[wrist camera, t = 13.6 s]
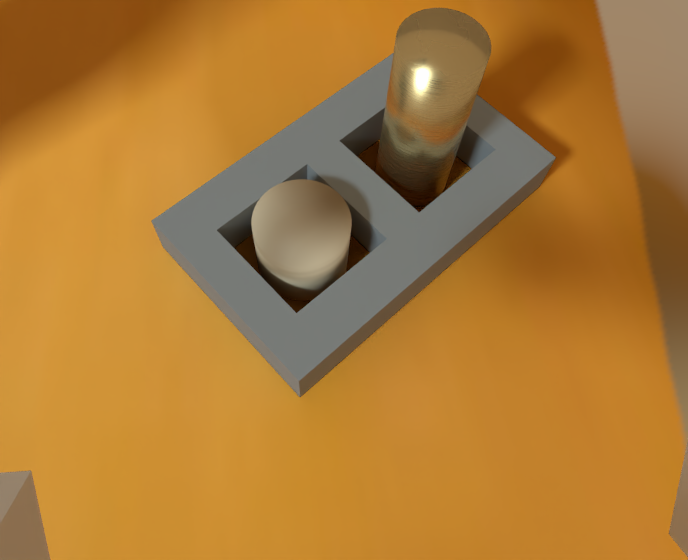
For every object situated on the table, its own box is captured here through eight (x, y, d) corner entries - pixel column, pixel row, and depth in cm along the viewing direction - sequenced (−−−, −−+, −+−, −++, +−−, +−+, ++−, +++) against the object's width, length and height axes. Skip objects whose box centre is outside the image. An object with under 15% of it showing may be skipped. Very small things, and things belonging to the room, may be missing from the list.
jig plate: (163, 247, 37) (151, 220, 34) (404, 74, 43) (410, 41, 41) (300, 397, 34) (299, 381, 31) (539, 186, 40) (556, 157, 37)
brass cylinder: (360, 173, 40) (376, 38, 30) (410, 135, 41) (441, -6, 31) (411, 220, 39) (445, 95, 29) (461, 179, 40) (510, 46, 30)
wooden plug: (239, 256, 37) (230, 217, 33) (306, 205, 39) (305, 162, 35) (298, 318, 36) (297, 285, 32) (365, 262, 37) (372, 224, 33)
